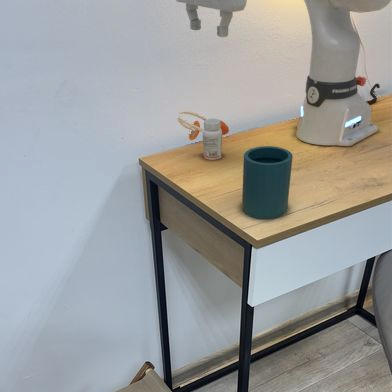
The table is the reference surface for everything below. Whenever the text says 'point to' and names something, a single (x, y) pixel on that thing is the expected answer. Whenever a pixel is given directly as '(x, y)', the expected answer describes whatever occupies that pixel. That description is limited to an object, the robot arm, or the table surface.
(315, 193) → the table surface
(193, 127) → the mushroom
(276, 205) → the jar
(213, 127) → the pill bottle
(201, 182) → the table surface
